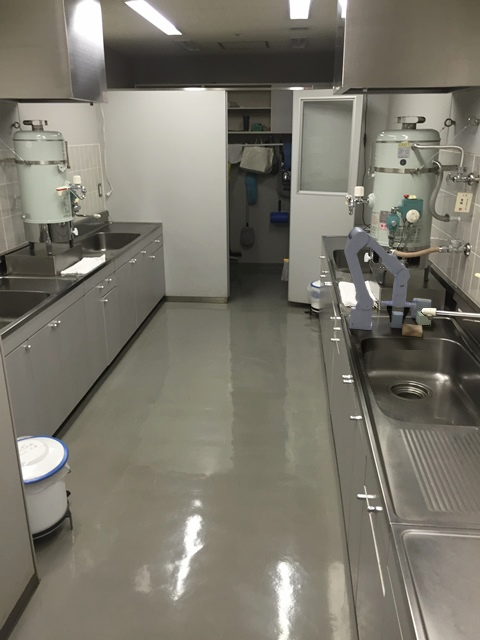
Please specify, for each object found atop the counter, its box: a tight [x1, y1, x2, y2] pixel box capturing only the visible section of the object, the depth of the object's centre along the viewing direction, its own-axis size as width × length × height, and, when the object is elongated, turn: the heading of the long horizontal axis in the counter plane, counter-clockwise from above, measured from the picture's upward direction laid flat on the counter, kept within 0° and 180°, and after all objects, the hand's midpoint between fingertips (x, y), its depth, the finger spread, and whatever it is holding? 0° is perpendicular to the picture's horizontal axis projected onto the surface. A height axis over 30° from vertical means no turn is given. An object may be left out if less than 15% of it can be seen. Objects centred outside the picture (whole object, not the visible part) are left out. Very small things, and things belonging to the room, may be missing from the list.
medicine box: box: [410, 297, 432, 319], centre depth 239 cm, size 8×4×9 cm, turn 65°
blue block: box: [390, 310, 403, 329], centre depth 231 cm, size 4×4×6 cm
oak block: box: [401, 323, 423, 338], centre depth 224 cm, size 8×8×2 cm
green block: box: [415, 311, 432, 325], centre depth 233 cm, size 5×6×5 cm
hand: (396, 322), depth 231 cm, fingers closed on blue block, 4 cm apart
